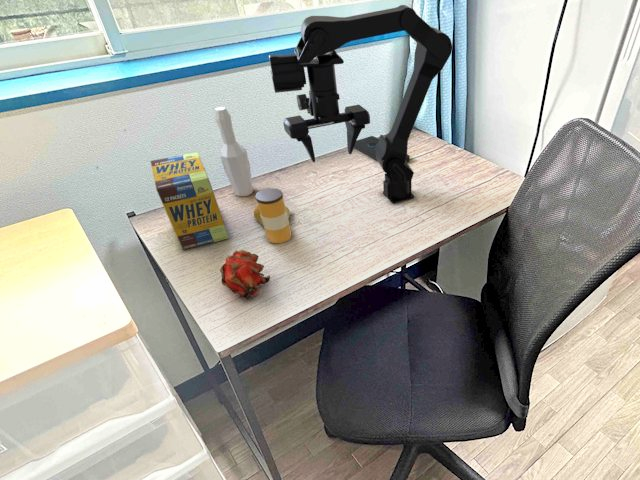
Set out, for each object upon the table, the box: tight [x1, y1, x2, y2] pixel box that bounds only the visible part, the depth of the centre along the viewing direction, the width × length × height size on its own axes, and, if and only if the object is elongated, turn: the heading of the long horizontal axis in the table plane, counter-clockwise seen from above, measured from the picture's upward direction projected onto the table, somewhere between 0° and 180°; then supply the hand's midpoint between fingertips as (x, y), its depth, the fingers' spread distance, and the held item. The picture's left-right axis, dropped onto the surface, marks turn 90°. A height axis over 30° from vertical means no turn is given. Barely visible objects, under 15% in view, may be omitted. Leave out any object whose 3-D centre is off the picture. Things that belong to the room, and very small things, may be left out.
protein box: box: [150, 152, 229, 251], centre depth 99 cm, size 10×15×16 cm
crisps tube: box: [255, 187, 292, 244], centre depth 97 cm, size 6×6×11 cm
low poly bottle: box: [214, 106, 254, 197], centre depth 110 cm, size 6×6×22 cm
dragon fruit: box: [219, 249, 271, 300], centre depth 85 cm, size 8×8×12 cm
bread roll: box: [253, 204, 291, 226], centre depth 106 cm, size 8×9×4 cm
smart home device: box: [353, 135, 411, 163], centre depth 133 cm, size 8×2×20 cm
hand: (332, 157), depth 102 cm, fingers open, 9 cm apart
